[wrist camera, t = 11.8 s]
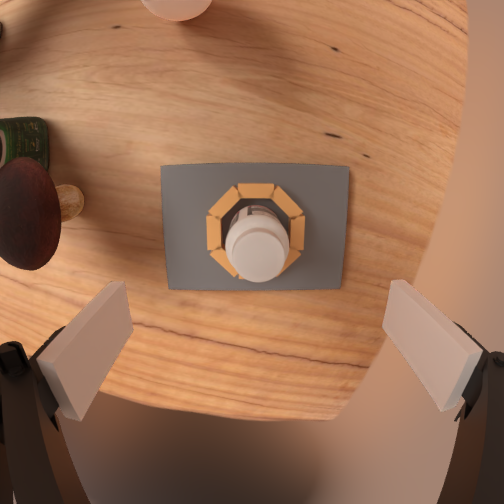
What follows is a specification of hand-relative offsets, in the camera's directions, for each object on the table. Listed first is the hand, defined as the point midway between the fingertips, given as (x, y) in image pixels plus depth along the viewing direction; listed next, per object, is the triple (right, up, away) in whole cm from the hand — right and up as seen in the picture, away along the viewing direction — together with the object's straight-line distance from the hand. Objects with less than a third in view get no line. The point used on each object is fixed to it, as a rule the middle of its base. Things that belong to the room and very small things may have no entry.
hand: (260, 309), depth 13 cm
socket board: (0, +5, +19) cm, 19 cm away
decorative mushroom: (-22, +9, +17) cm, 30 cm away
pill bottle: (0, +5, +18) cm, 18 cm away
